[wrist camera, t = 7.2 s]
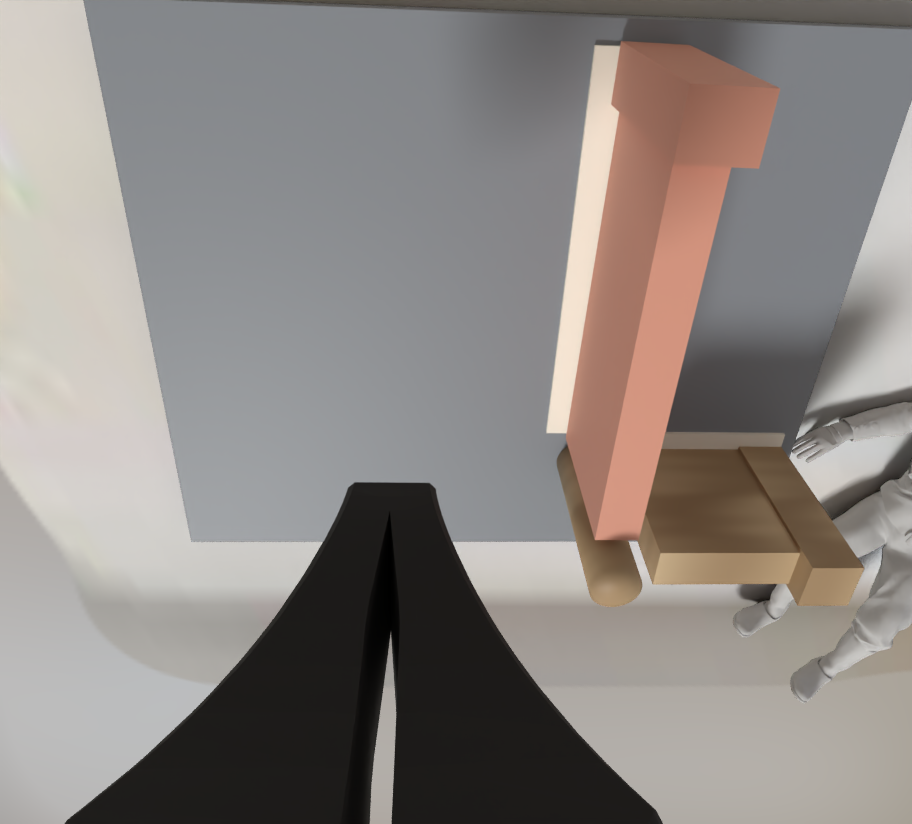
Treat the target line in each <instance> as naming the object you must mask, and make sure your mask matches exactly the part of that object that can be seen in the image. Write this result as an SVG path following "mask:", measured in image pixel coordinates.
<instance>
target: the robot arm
mask: <svg viewBox="0 0 912 824" xmlns="http://www.w3.org/2000/svg"><path fill="white" fill-rule="evenodd" d="M390 634H391V638H392V653H393V668H394V683H395V698H396V712H397V713H396V739H395V761H394V762H395V763H394V784H393V807H392V824H663V823H662V821H661V819H660V817H659V815H658V813H657V811H656V810H655V809H654V808H653V807H652V806H651V805H650V804H649V803H647V802H646V801H645V800H644V799H643V798H642V797H641V796H640V795H639V794H638V793H637V792H636V791H634V790H633V789H632V788H631V787H630V786H629V785H628V784H627V783H626V782H625V781H624V780H623V779H622V778H621V777H620V776H619V775H618V774H617V773H616V772H615V771H614V770H613V769H612V768H611V767H610V766H609V765H608V764H606V762H604V760H603V759H602V758H601V757H600V756H599V755H598V754H597V753H596V752H595V751H594V750H593V749H592V748H591V747H590V746H589V744H587V742H586V741H585V740H584V739H583V738H582V737H581V736H580V735H579V734H578V733H577V732H576V731H575V729H574V728H573V727H572V726H571V725H570V723H569V722H568V721H567V720H566V719H565V717H564V716H563V715H562V714H561V713H560V712H559V710H558V709H557V708H556V707H555V706H554V705H553V703H552V702H551V701H550V700H549V699H548V697H547V696H546V695H545V694H544V693H543V691H542V690H541V689H540V688H539V687H538V685H537V684H536V683H535V681H534V680H533V679H532V677H531V676H530V675H529V673H528V672H527V670H526V669H525V668H524V666H523V665H522V664H521V662H520V661H519V660H518V658H517V657H516V655H515V654H514V652H513V651H512V649H511V648H510V647H509V645H508V644H507V642H506V641H505V639H504V638H503V636H502V635H501V633H500V631H499V630H498V628H497V627H496V625H495V623H494V622H493V620H492V618H491V617H490V615H489V613H488V612H487V610H486V608H485V606H484V605H483V603H482V601H481V599H480V598H479V596H478V594H477V592H476V590H475V589H474V587H473V585H472V583H471V581H470V579H469V577H468V575H467V573H466V571H465V569H464V567H463V564H462V562H461V560H460V558H459V556H458V554H457V552H456V550H455V547H454V545H453V543H452V540H451V538H450V535H449V533H448V530H447V527H446V525H445V522H444V519H443V516H442V513H441V510H440V506H439V502H438V498H437V493H436V488H435V487H434V486H432V485H431V484H430V483H395V482H354V483H353V484H352V485H351V486H350V487H348V489H347V492H346V495H345V498H344V500H343V503H342V505H341V507H340V510H339V512H338V514H337V516H336V518H335V520H334V522H333V524H332V526H331V528H330V530H329V532H328V534H327V536H326V538H325V540H324V541H323V543H322V545H321V547H320V548H319V550H318V552H317V553H316V555H315V557H314V559H313V560H312V562H311V564H310V565H309V567H308V569H307V570H306V572H305V574H304V575H303V577H302V578H301V580H300V581H299V583H298V584H297V586H296V587H295V589H294V590H293V592H292V593H291V595H290V596H289V597H288V599H287V600H286V602H285V603H284V605H283V606H282V608H281V609H280V611H279V612H278V613H277V615H276V616H275V618H274V619H273V620H272V622H271V623H270V624H269V626H268V627H267V628H266V629H265V631H264V632H263V633H262V635H261V636H260V637H259V638H258V640H257V641H256V642H255V643H254V645H253V646H252V647H251V648H250V649H249V651H248V652H247V653H246V654H245V656H244V657H243V658H242V659H241V660H240V661H239V663H238V664H237V665H236V666H235V667H234V668H233V669H232V670H231V671H230V673H229V674H228V675H227V676H226V677H225V678H224V679H223V680H222V681H221V683H220V684H219V685H218V686H217V687H216V688H215V689H214V690H213V691H212V692H211V693H210V695H209V696H208V697H207V698H206V699H205V700H204V701H203V702H202V703H201V704H200V705H199V706H198V707H197V708H196V709H195V710H194V711H193V712H192V713H191V714H190V715H189V716H188V717H187V718H186V719H185V720H183V721H182V722H181V723H180V724H179V725H178V726H177V727H176V728H175V729H174V730H173V731H172V732H171V733H170V734H169V735H167V737H165V738H164V739H163V740H162V741H161V742H160V743H159V744H158V745H157V746H156V747H155V748H154V749H153V750H151V752H149V753H148V754H147V755H146V756H145V757H144V758H143V759H142V760H140V761H139V762H138V763H137V764H136V765H135V766H134V767H132V768H131V769H130V770H129V771H127V772H126V773H125V774H124V775H123V776H121V777H120V778H119V779H118V780H116V781H115V782H114V783H113V784H111V785H110V786H109V787H108V788H107V789H105V790H104V791H103V792H102V793H100V794H99V795H98V796H97V797H95V798H94V799H93V800H92V801H91V802H89V803H88V804H87V805H86V806H84V807H83V808H82V809H81V810H79V811H78V812H77V813H76V814H74V815H73V816H72V817H70V819H68V820H67V821H66V823H65V824H369V823H370V802H371V782H372V772H373V761H374V752H375V745H376V737H377V729H378V723H379V715H380V708H381V700H382V693H383V686H384V679H385V671H386V664H387V656H388V649H389V641H390Z"/></svg>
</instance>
